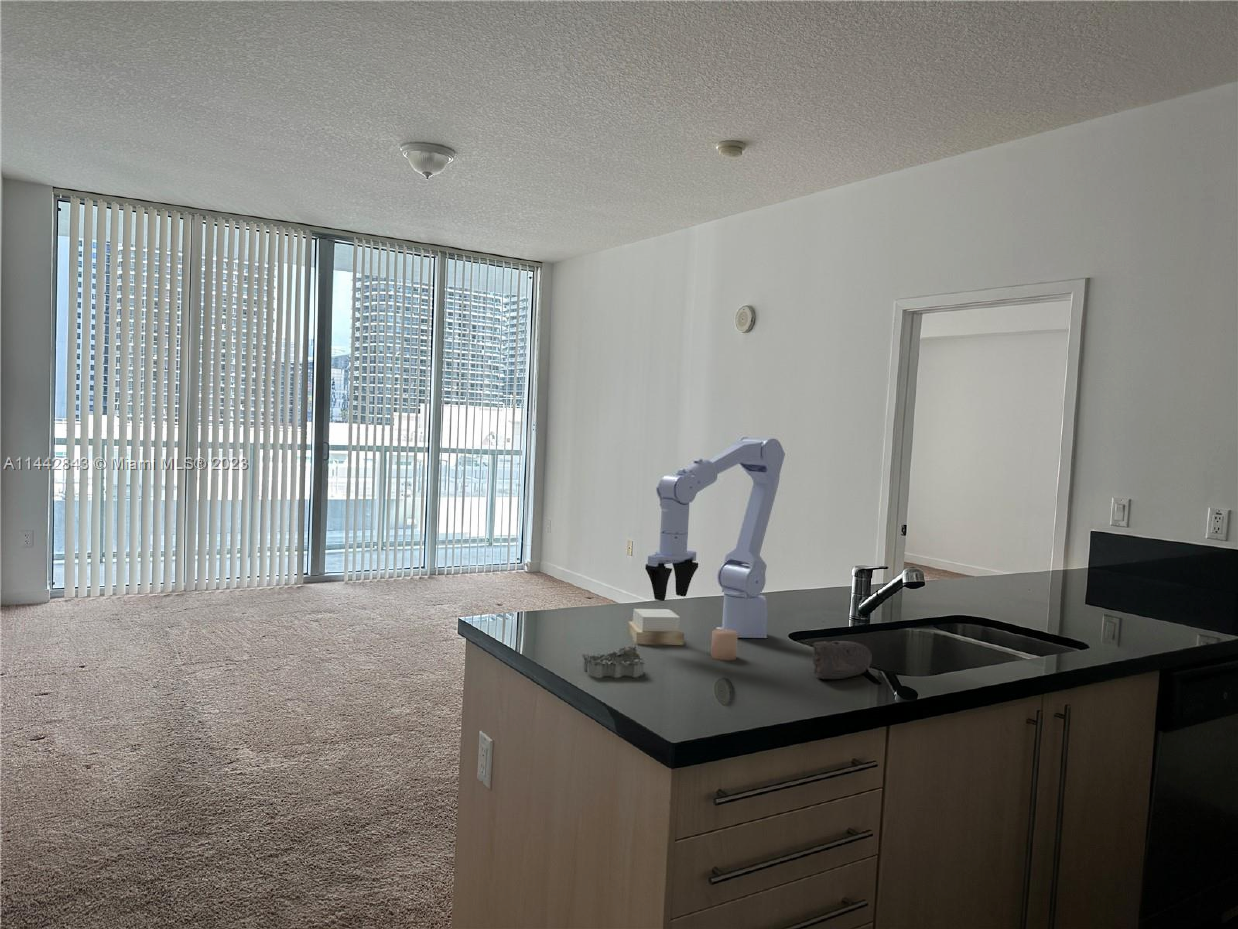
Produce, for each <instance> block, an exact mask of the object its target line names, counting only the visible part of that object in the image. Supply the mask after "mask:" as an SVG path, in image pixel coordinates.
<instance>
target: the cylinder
mask: <svg viewBox="0 0 1238 929" xmlns="http://www.w3.org/2000/svg"><path fill="white" fill-rule="evenodd" d="M737 635H738V633H737V632H736V631H733V630H727V629H716V628H715V629H713V630H712V632H711V648H710V657H711V658H713V659H716V660H720V661H733V660H736V659H737V653H738V652H737V651H738V650H737V647H738V638H737Z"/></svg>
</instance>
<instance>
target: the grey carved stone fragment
mask: <svg viewBox="0 0 1238 929" xmlns="http://www.w3.org/2000/svg"><path fill="white" fill-rule="evenodd" d="M581 655H582V658H583V666H582V671H585V672H587V674H586V675H587V676H588V677H593V678H596V679H599V678H600V679H602V678H603V677H606V676H607V677H609V676H610V677H613V678H621V677H622V676H629V677H633V678H639V677H640V676H643V675H644V665H645V664H646V662H645V660H644V659H643V658H642V657H641V656H640V653H639V652H638V650H637V647H636V646H627V647H622V648H619V650H618V651H613V650H612V651H610V652H607V653H601V652H600V653H596V654H595V653H594V654H591V655H589V653H588V654H585V653H583V654H581Z"/></svg>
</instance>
